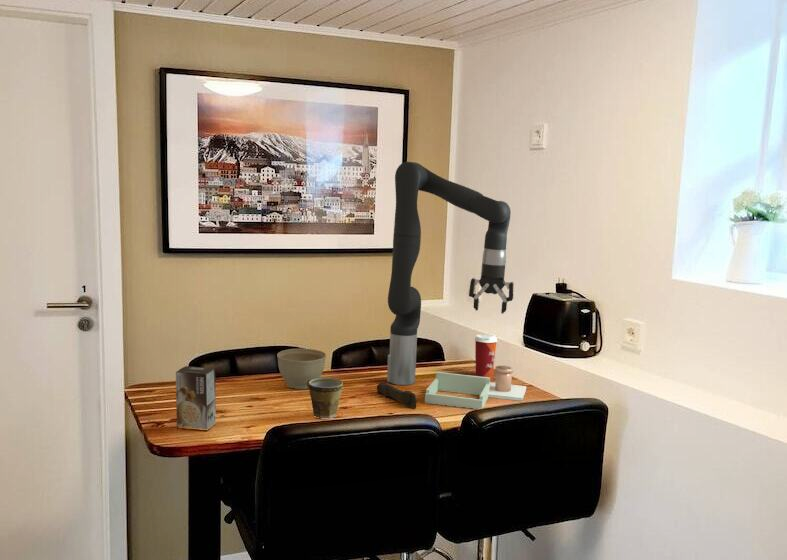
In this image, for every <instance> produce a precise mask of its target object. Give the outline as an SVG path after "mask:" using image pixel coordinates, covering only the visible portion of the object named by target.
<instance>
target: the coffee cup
mask: <svg viewBox="0 0 787 560" xmlns="http://www.w3.org/2000/svg"><path fill="white" fill-rule="evenodd" d="M474 343H475V346H474V347H475V352H474V354H475V376H479V377H488V378H490V379H492V378H493V374H494V369H495V359H496V350H497V349H496V348H497V343H498V339H497V336H496V335H494V334H489V333H488V334H486V333H485V334H484V333H482V334H481V333H479V334H476V335H475V338H474Z"/></svg>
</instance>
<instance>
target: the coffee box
mask: <svg viewBox="0 0 787 560" xmlns="http://www.w3.org/2000/svg"><path fill="white" fill-rule="evenodd" d="M175 391H176V392H175V397H176V399H175V400H176V403H175V404H176V427H177V426H182V427H192V428H202V429H208V428H209V427H211V426H212V425H213V424H214V423H215V422H216V423H217V416H216V415H217V414H216V413H217V410H216V409H217V408H216V407H217V405H216V396H217V395H216V368H214V367H201V366H200V367H199V366H189V365H185V366H183V367H182V368H180V369H179V370H177V371H175Z"/></svg>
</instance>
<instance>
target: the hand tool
mask: <svg viewBox="0 0 787 560" xmlns="http://www.w3.org/2000/svg"><path fill="white" fill-rule="evenodd" d="M387 383H388V382H387V381H386V382H385V381H381V382H379V383H378V384H377V385H376V389H377V390H376V391H377V392H376V393H378V394H380V395H385V396H387V397H389V398H391V399H393V400H395V401H398V402H400V403H401V405H402V406H404V407H408V408H411V409H417V403H418V402H417V401H418V400H417V397H416V394H415V393H414V392H412V391H410V390H401V389H398V388H396V387H394V386H392V385H390V384H387Z"/></svg>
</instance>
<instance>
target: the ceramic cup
mask: <svg viewBox="0 0 787 560" xmlns="http://www.w3.org/2000/svg"><path fill="white" fill-rule="evenodd" d="M343 384H344V382H343V381H342V380H341V379H336V378H334V377H333V378H332V377H320V378H318V379H313V380H308V382H307V387H308V389H307V390H308V391H309V395H310V396H309V397H310V401H311V405H312V413H313V417H314V416H316V417H319V418H332V419H334V418H333V417H335V418H336V417H337V413H338V408H339V402H340V399H341V398H340V397H341V395H342V391H343V386H344V385H343ZM316 417H315V418H316ZM319 418H318V419H319Z"/></svg>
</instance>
